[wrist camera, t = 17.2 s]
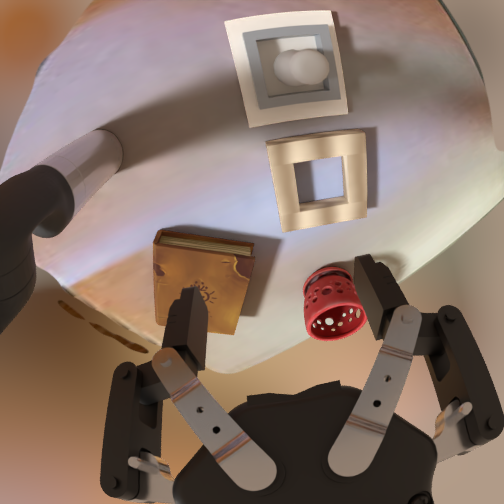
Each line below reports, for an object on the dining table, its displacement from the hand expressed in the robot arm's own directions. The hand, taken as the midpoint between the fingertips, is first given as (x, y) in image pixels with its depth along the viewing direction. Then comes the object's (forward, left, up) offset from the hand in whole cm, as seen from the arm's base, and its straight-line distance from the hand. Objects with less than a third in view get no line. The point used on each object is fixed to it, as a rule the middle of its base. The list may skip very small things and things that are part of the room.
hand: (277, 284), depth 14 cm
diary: (-17, -28, -35) cm, 48 cm away
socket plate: (+8, +10, -34) cm, 36 cm away
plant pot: (+10, -36, -34) cm, 51 cm away
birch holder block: (+10, -10, -34) cm, 37 cm away
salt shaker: (+8, +9, -33) cm, 35 cm away
